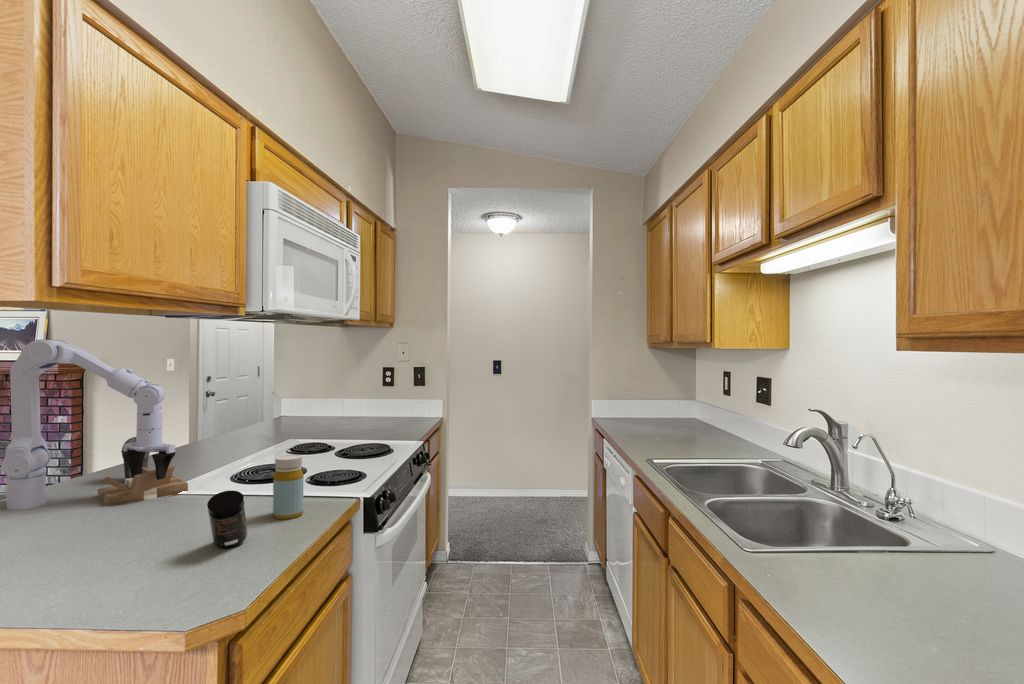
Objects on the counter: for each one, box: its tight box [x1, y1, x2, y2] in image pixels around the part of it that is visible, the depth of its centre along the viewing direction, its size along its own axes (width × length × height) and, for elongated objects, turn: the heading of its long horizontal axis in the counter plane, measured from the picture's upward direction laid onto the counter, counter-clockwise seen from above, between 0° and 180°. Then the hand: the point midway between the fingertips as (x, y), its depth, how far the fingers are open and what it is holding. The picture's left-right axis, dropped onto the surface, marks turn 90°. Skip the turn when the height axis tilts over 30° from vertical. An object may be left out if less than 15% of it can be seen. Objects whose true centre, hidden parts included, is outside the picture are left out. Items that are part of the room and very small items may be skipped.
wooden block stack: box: [97, 475, 189, 507], centre depth 141 cm, size 14×18×6 cm
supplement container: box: [207, 490, 248, 550], centre depth 108 cm, size 7×7×10 cm
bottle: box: [272, 454, 304, 520], centre depth 129 cm, size 7×7×15 cm
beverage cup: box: [121, 436, 151, 480], centre depth 154 cm, size 7×7×20 cm
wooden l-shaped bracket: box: [103, 464, 175, 495], centre depth 139 cm, size 9×12×5 cm
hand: (148, 478), depth 139 cm, fingers open, 7 cm apart
